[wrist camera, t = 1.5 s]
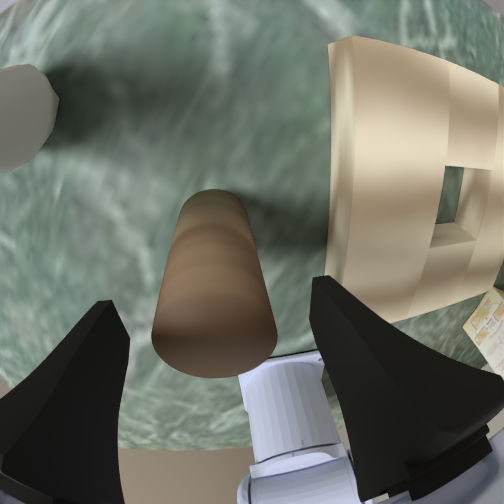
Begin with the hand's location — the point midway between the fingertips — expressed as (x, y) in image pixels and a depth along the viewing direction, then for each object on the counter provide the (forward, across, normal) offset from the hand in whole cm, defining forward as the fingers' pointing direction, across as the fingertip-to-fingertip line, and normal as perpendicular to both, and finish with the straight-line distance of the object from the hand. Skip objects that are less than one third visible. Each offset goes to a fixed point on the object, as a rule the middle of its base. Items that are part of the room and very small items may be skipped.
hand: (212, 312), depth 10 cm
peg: (+8, 0, 0) cm, 8 cm away
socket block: (+8, -16, -1) cm, 18 cm away
